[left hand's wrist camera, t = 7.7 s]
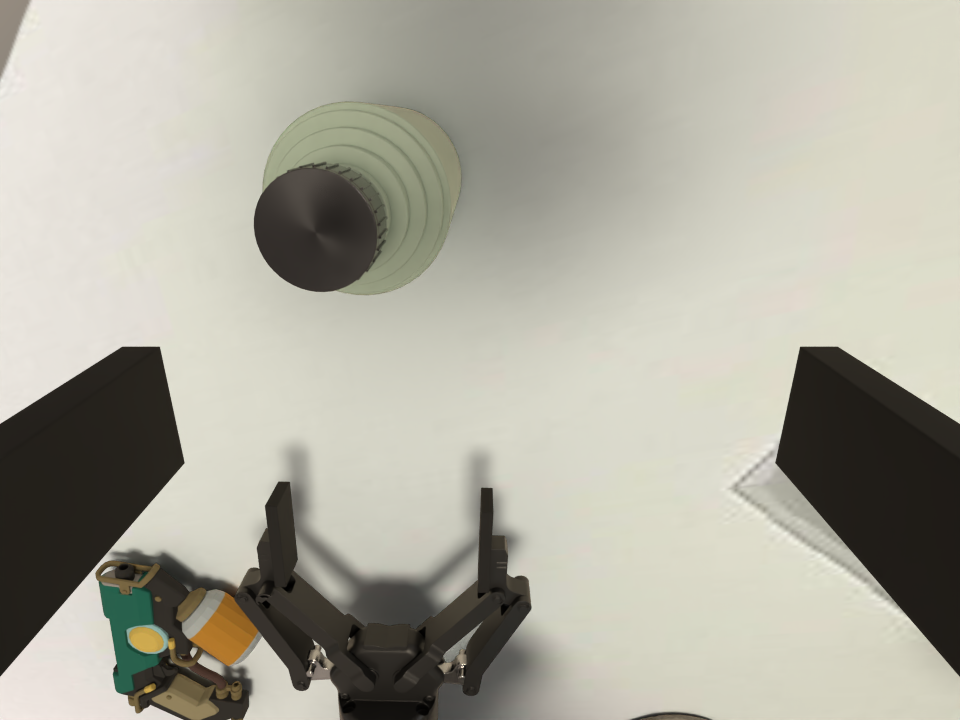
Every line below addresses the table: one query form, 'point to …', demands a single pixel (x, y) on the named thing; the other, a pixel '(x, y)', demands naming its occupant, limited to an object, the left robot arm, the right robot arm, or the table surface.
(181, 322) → the table surface
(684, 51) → the table surface
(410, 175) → the bottle
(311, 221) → the cap
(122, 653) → the spray gun
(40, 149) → the table surface
